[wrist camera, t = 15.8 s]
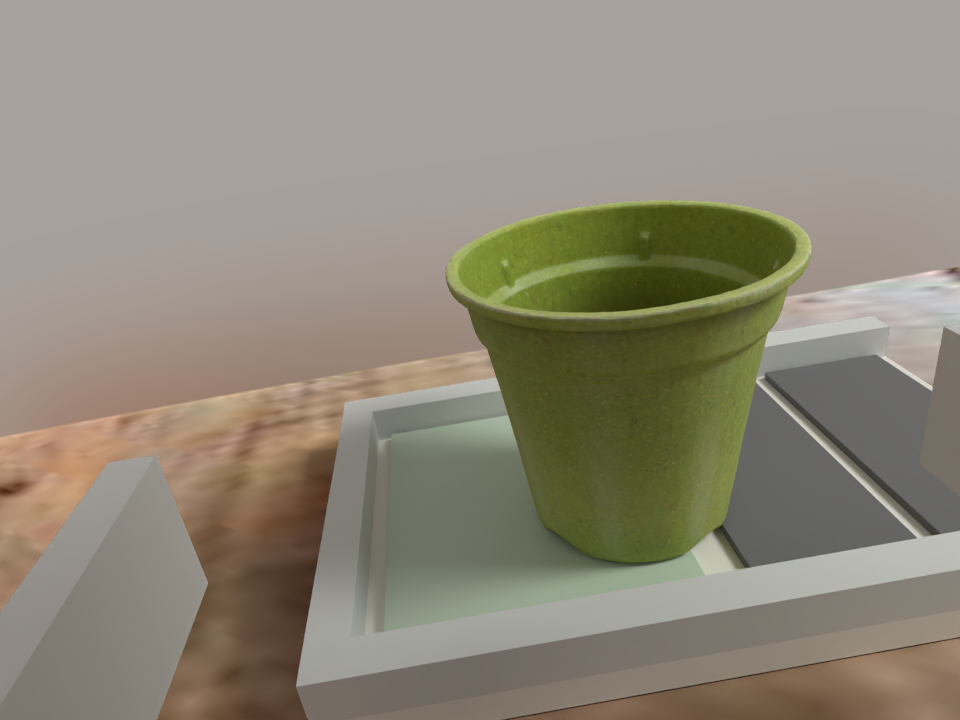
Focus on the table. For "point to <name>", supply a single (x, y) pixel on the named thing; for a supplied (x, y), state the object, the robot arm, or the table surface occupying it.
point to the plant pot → (630, 359)
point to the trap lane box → (617, 585)
